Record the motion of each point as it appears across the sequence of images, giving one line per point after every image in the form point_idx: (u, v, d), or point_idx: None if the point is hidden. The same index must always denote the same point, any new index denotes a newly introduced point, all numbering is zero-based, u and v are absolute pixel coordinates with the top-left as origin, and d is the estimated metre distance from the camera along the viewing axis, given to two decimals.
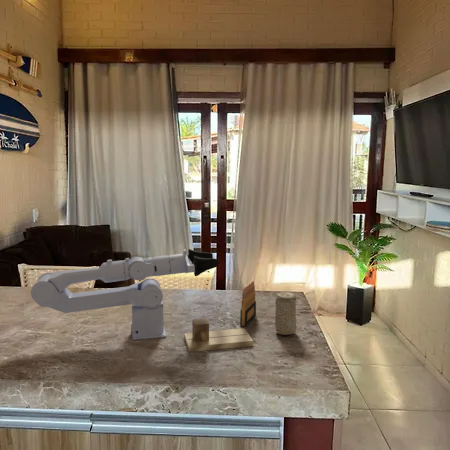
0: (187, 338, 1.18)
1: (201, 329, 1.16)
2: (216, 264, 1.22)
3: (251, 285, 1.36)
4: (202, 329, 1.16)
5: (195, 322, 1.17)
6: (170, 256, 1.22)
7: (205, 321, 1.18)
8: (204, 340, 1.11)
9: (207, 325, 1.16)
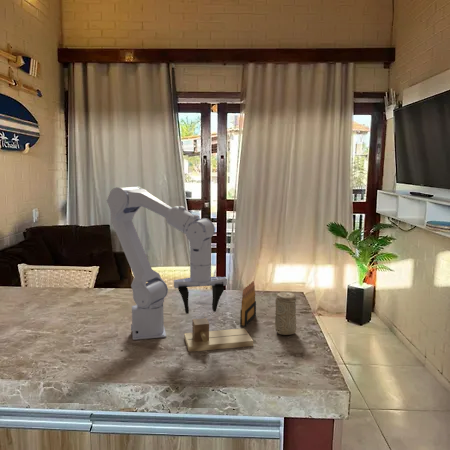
0: (187, 338, 1.18)
1: (201, 329, 1.16)
2: (185, 310, 1.16)
3: (251, 285, 1.36)
4: (202, 329, 1.16)
5: (195, 322, 1.17)
6: (199, 267, 1.12)
7: (205, 321, 1.18)
8: (204, 340, 1.11)
9: (207, 325, 1.16)
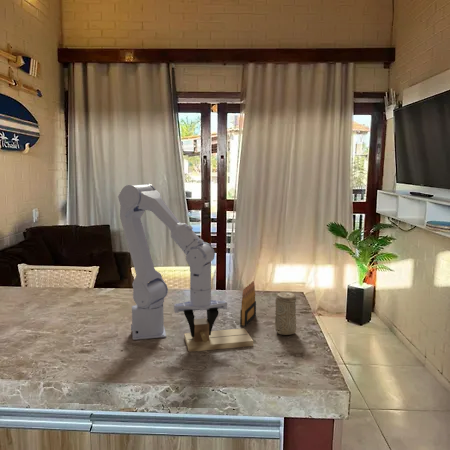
0: (187, 338, 1.18)
1: (201, 329, 1.16)
2: None
3: (251, 285, 1.36)
4: (202, 329, 1.16)
5: (195, 322, 1.17)
6: (199, 292, 1.13)
7: (205, 321, 1.18)
8: (204, 340, 1.11)
9: (207, 325, 1.16)
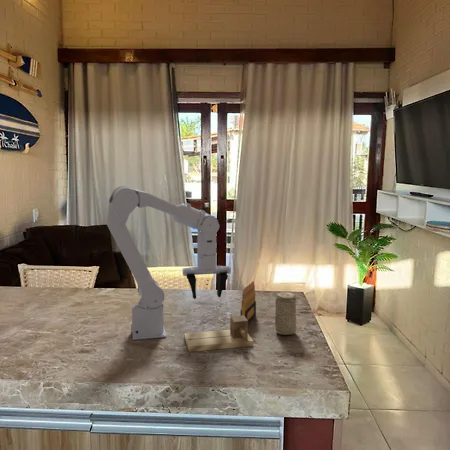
0: (187, 338, 1.18)
1: (240, 326, 1.18)
2: None
3: (251, 285, 1.36)
4: (241, 326, 1.18)
5: (234, 319, 1.19)
6: (205, 257, 1.25)
7: (243, 318, 1.20)
8: (244, 336, 1.14)
9: (246, 322, 1.18)
